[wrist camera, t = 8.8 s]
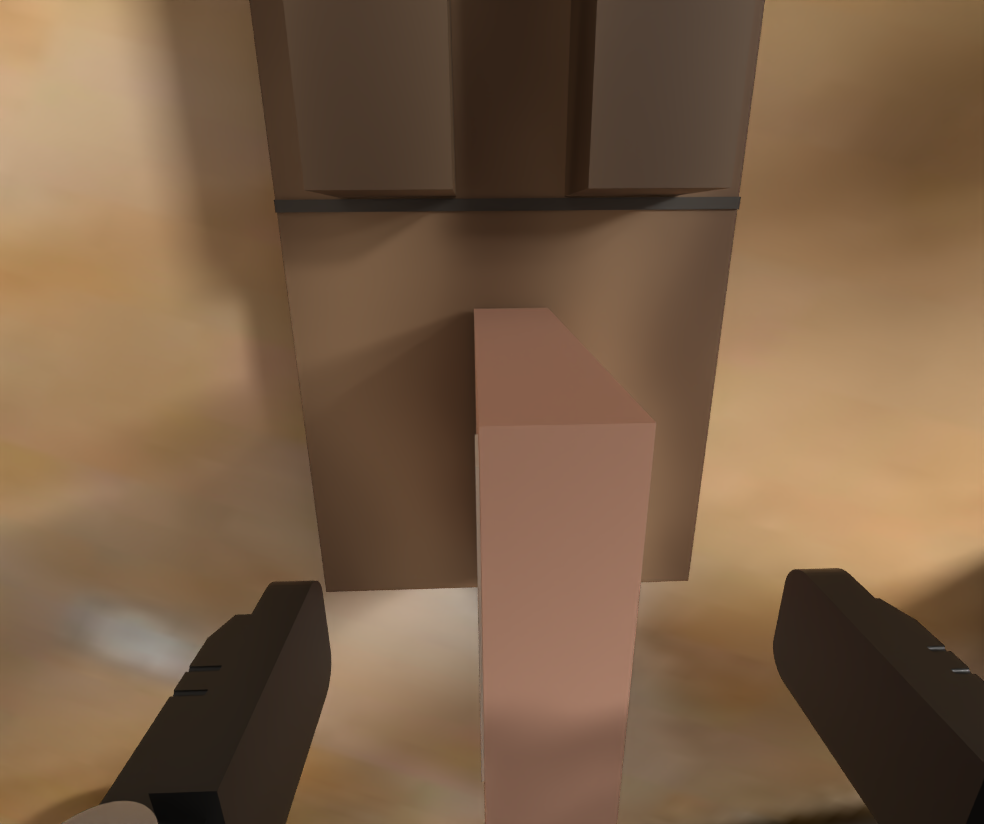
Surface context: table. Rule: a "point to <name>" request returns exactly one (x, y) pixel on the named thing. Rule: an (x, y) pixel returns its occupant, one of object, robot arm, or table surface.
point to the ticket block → (496, 239)
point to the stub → (555, 568)
